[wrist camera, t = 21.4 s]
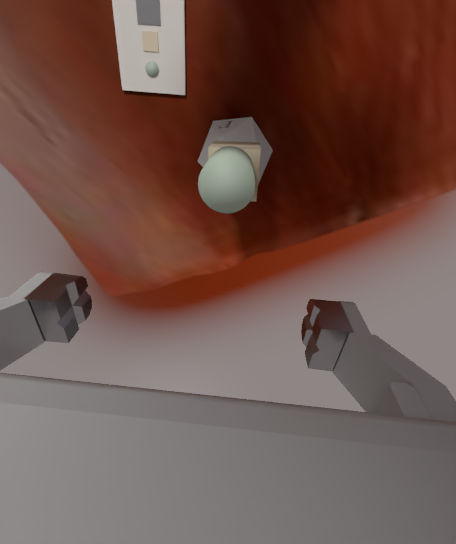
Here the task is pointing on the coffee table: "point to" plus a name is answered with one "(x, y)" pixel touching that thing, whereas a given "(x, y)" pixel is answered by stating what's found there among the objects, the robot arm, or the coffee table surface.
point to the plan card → (151, 45)
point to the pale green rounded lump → (227, 180)
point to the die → (237, 138)
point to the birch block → (248, 147)
